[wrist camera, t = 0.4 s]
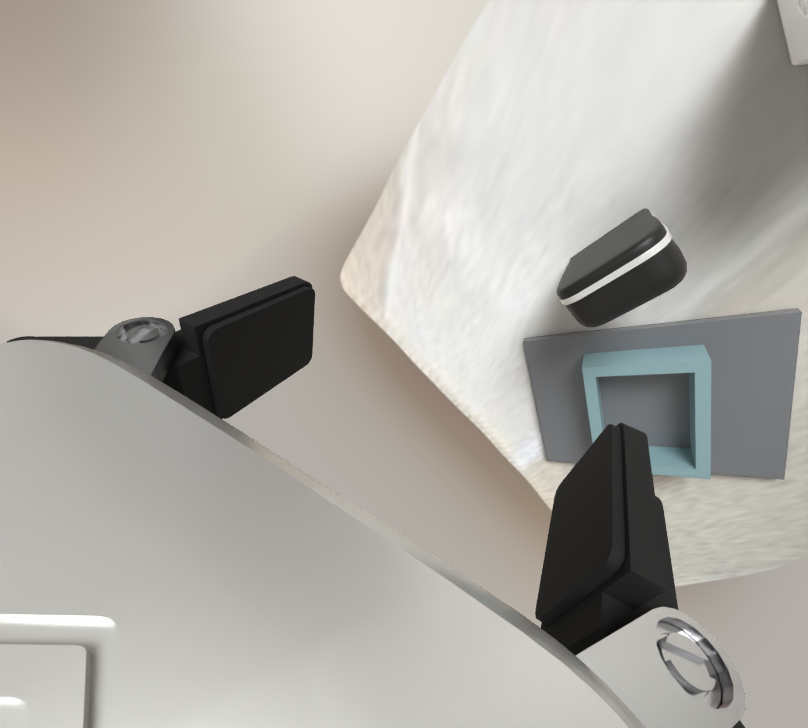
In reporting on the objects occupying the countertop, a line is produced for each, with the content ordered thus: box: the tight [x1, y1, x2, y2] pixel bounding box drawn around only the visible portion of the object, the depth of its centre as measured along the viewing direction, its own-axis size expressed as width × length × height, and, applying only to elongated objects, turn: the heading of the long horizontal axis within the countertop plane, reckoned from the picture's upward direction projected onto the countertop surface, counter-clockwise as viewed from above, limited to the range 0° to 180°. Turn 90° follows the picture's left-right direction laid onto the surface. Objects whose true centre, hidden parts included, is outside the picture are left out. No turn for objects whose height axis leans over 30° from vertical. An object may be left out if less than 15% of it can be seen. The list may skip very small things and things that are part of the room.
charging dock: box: [523, 309, 802, 480], centre depth 33 cm, size 20×16×4 cm
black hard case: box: [557, 209, 687, 327], centre depth 25 cm, size 7×4×11 cm, turn 135°
